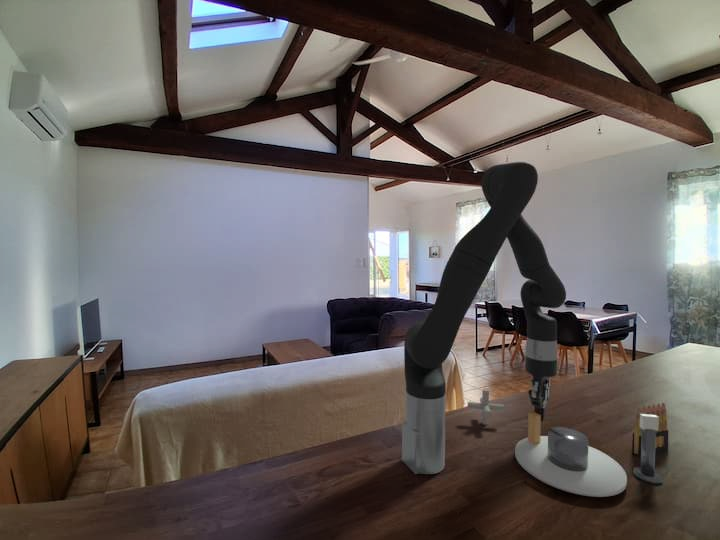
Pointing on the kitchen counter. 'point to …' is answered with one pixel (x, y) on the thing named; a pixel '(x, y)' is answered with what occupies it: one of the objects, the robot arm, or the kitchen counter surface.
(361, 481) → the kitchen counter surface
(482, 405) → the pipe connector
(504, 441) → the kitchen counter surface
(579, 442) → the cover
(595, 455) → the platter
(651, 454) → the stand
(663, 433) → the ammunition clip
